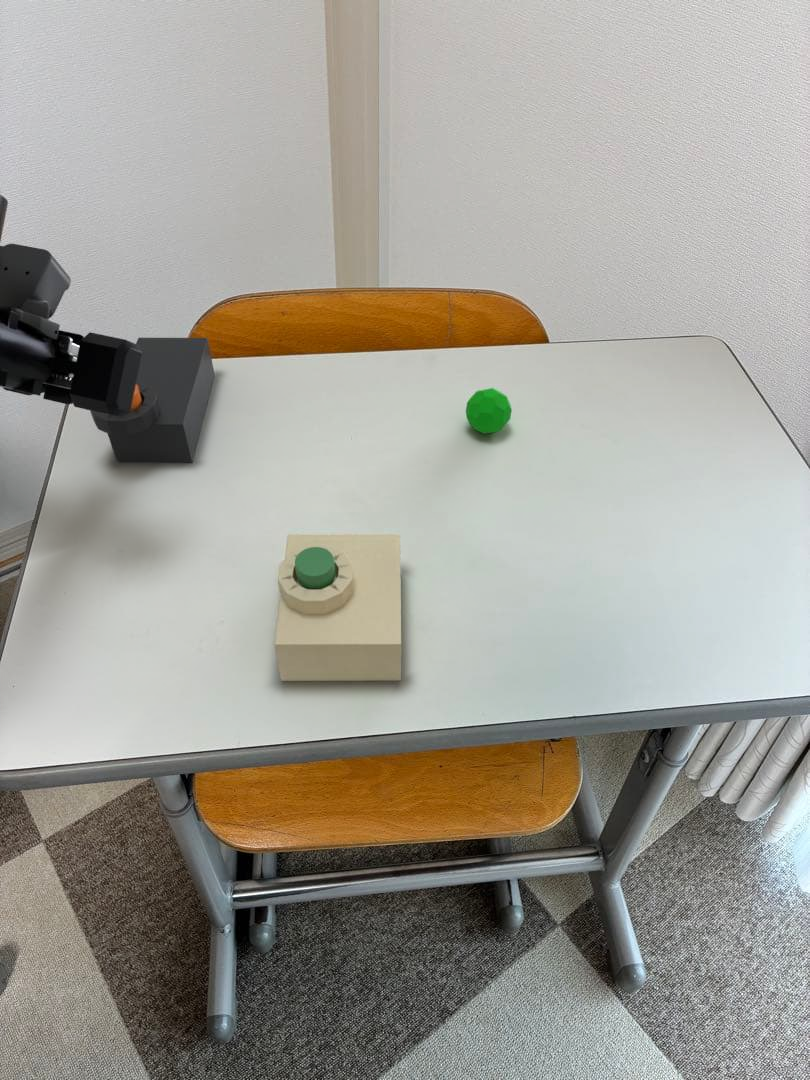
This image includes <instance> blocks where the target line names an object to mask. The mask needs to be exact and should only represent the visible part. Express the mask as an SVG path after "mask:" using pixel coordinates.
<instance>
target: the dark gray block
mask: <svg viewBox="0 0 810 1080" xmlns="http://www.w3.org/2000/svg"><path fill="white" fill-rule="evenodd" d="M135 344H137V345H138V346H139V348H140V350H141V351H142V357H141V362H140V367H139V371H138V376H137V381H136V384H137V386H138V388H139V392H140V395H141V399H142V404H141V406H140V407H138V408H137V409H136V410H134V411H131V412H130V413H129V414H127V415H126V416H125V417H123V418H120V417H116V416H112V415H107V414H103V413H99V412H94V411H90V410H89V411H90V415H91V418H92V420H93V422H94V424H95V425H96V426H95V427H96V429H98V430H99V431H101V432H102V433H103V432H104V433H106V434H107V436H108V439H109V442H110V445H111V449H112V451H113V454H114V458H115V460H116V463H118V464H119V463H121V464H122V463H123V464H124V463H127V464H129V463H131V464H132V463H135V464H136V463H138V464H139V463H145V464H147V463H151V464H153V463H157V464H158V463H159V464H160V463H161V464H162V463H163V464H164V463H165V464H166V463H168V464H169V463H170V464H171V463H176V464H177V463H179V464H183V463H185V464H186V463H187V464H189V463H193V460H194V458H195V453H196V449H197V445H198V442H199V438H200V434H201V430H202V426H203V421H204V417H205V414H206V410H207V406H208V404H209V403H208V402H209V398H210V396H211V391H212V387H213V383H214V379H215V369H214V363H213V358H212V354H211V348H210V343H209V338H208V337H138V338H137V341H136V343H135Z"/></svg>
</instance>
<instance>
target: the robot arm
mask: <svg viewBox="0 0 810 1080" xmlns="http://www.w3.org/2000/svg"><path fill="white" fill-rule="evenodd" d="M8 205H9V201H8V199H7V198H6V197H5V196H3V195H2V194H0V242H1V241H2V236H3V231H4V226H5V221H6V216H7V211H8ZM71 282H72V280H71V277H70V276H69V274H68V273H67V272H66V271H65V270H64V268H63V267H62V266H61V264H60V263H59V262H58V261H57V260H56V258H55V257H54V256H53V255H52V253H51V252H50V251H49V250H48V249H43V248H39V247H34V246H28V245H22V244H18V243H8V244H5V245H0V388H2V389H3V390H4V391H8V392H13V393H16V394H20V395H24V396H34V395H35V396H40V397H41V396H42V395H41V394H43V397H42V399H43V400H47V401H52V402H55V403H60V404H64V405H72V404H73V406H74V408H78V409H83V410H87V411H94V412H99V413H103V414H107V415H112V416H116V417H120V418H123V417H125V416H126V415H127V414H129V413H130V410H131V405H132V400H133V395H134V390H135V386H136V381H137V376H138V371H139V367H140V362H141V357H142V351H141V350H140V348H139V346H138V345H137V344H136V343H134V342H133V341H130V340H127V339H124V338H118V337H114V336H110V335H104V334H100V333H95V332H91V331H90V332H88V333H87V334H86V335H85V336H84V335H82V334H80V333H75V332H69V331H66V330H60V326H61V324H59V323H57V322H55V321H52V320H50V319H51V318H52V317H53V316H54V315H55V312H56V311H57V309H58V307H59V304H60V302H61V301H62V298H63V297H64V294H65V292H66V291H68V290H69V288H70V287H71Z"/></svg>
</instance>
